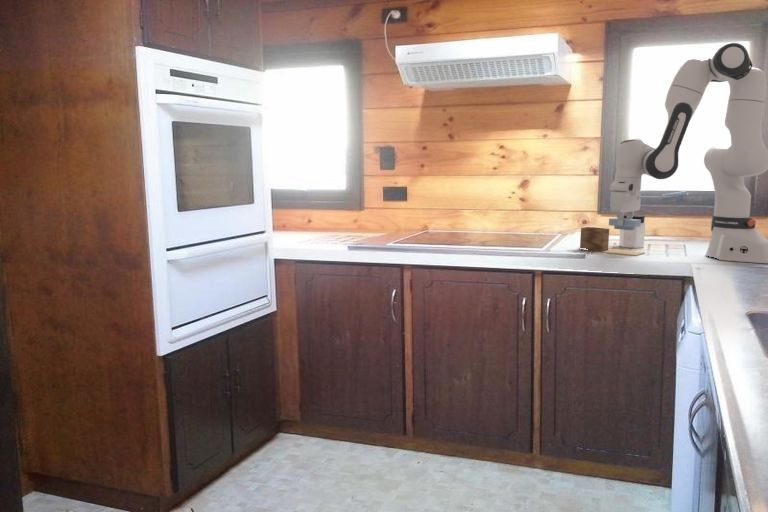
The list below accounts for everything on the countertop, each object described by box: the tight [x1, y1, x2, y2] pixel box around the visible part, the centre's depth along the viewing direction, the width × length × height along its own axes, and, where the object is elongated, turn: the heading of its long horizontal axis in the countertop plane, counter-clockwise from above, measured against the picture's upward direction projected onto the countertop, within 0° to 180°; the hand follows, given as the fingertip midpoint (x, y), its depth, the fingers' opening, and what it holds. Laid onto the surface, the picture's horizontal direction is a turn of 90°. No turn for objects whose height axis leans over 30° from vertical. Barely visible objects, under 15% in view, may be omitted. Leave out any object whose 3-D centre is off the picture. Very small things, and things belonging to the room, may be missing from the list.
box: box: [579, 226, 610, 253], centre depth 258 cm, size 9×5×8 cm, turn 51°
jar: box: [618, 213, 646, 249], centre depth 268 cm, size 9×8×12 cm
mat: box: [601, 248, 646, 257], centre depth 252 cm, size 12×9×1 cm
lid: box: [608, 217, 641, 230], centre depth 251 cm, size 9×6×4 cm, turn 51°
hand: (624, 224), depth 251 cm, fingers closed on lid, 6 cm apart
